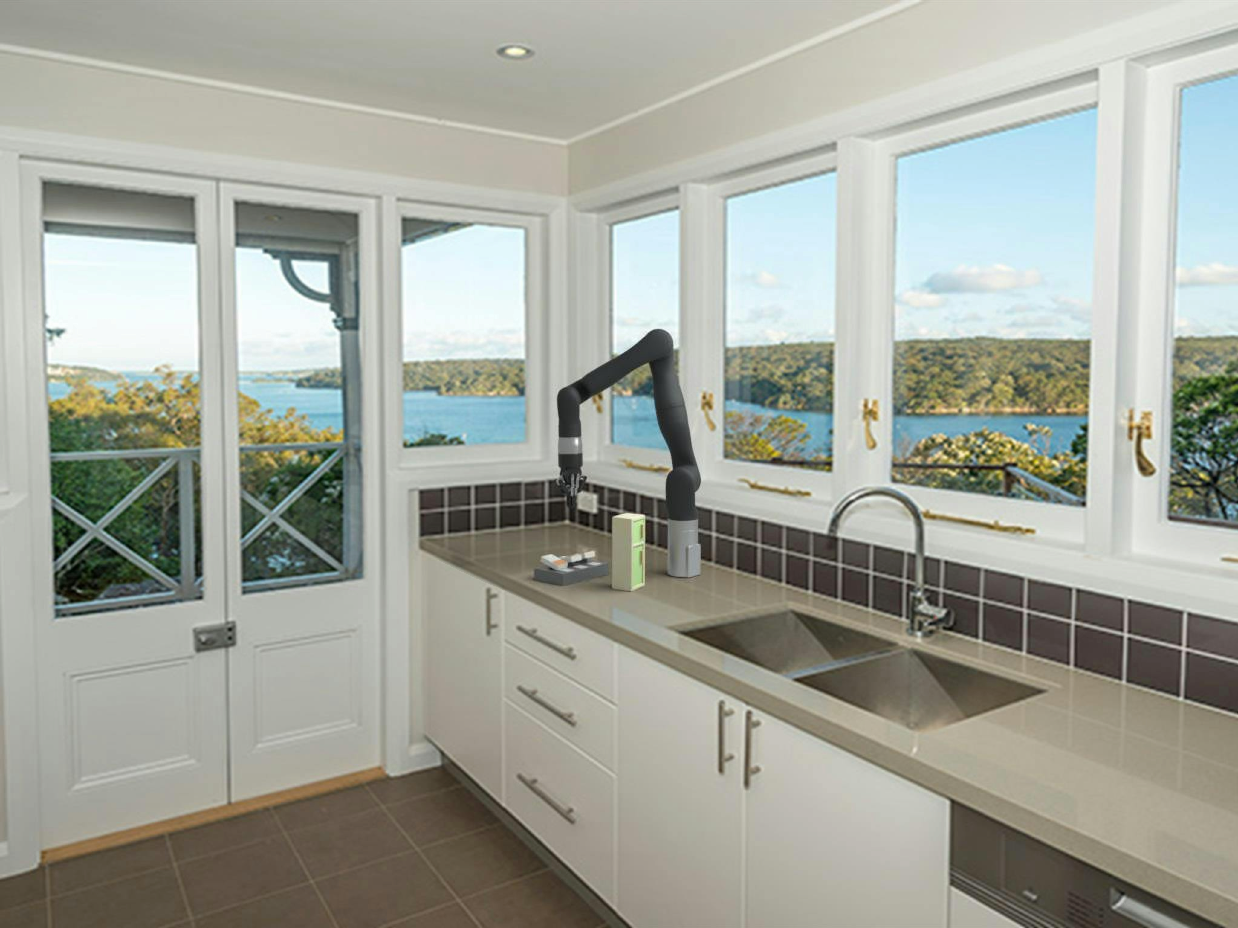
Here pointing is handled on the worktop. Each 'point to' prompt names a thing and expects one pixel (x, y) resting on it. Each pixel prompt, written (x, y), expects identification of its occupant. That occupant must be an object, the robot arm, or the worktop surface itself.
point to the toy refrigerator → (628, 551)
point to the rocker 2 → (587, 554)
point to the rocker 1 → (554, 562)
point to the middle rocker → (571, 558)
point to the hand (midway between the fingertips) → (571, 507)
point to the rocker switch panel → (572, 572)
